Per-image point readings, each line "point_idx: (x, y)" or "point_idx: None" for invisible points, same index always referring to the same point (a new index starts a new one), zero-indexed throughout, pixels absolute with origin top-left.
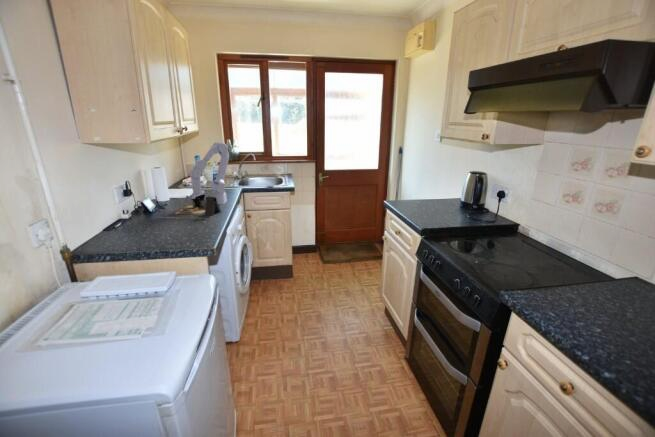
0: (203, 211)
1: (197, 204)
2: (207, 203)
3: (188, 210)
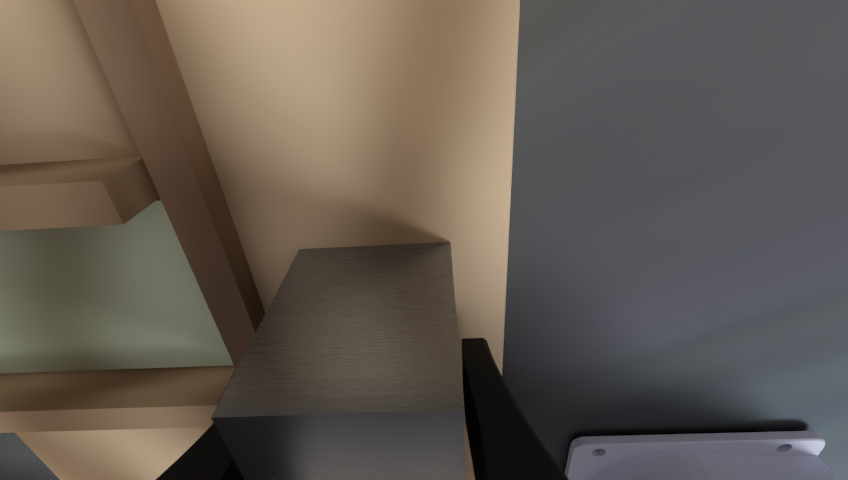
0: None
1: None
2: None
3: (72, 252)
